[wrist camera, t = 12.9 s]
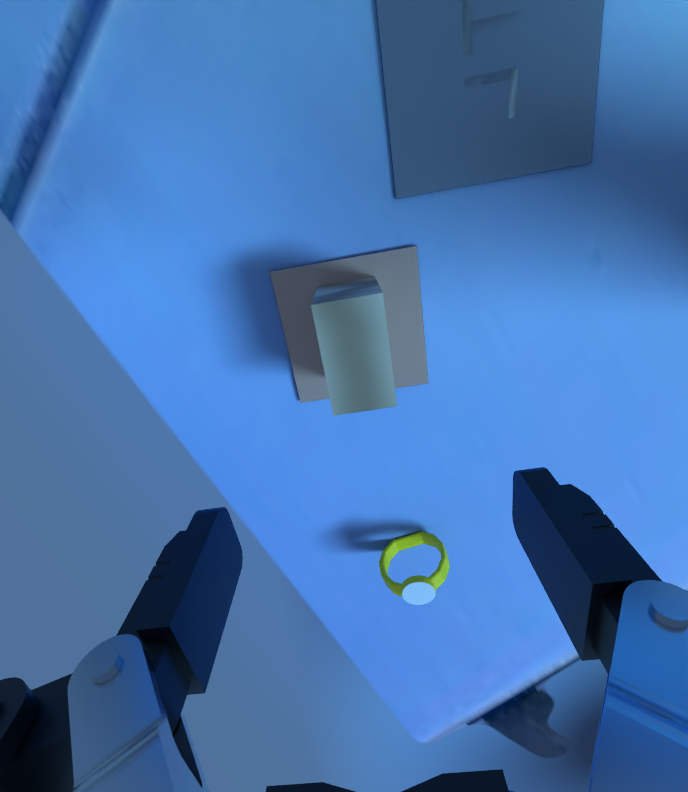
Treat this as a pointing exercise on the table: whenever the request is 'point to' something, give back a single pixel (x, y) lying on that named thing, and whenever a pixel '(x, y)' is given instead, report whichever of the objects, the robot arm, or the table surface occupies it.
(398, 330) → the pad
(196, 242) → the table surface
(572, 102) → the board
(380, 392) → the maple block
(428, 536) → the watch
